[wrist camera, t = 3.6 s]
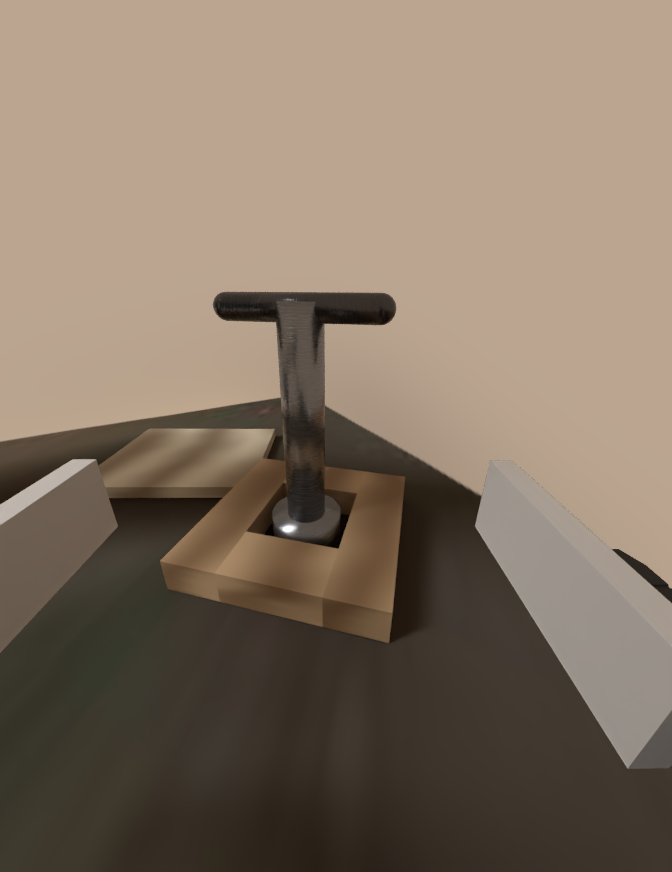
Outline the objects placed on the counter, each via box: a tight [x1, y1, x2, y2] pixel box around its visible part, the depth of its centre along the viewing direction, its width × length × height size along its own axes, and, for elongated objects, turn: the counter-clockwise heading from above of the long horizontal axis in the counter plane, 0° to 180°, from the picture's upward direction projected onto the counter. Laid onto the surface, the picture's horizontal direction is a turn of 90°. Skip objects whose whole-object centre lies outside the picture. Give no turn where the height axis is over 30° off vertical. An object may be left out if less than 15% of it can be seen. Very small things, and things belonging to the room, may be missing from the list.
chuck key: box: [213, 292, 396, 548], centre depth 18 cm, size 9×4×15 cm, turn 76°
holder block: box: [160, 458, 405, 643], centre depth 21 cm, size 12×12×2 cm
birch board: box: [98, 429, 275, 498], centre depth 30 cm, size 14×12×1 cm
